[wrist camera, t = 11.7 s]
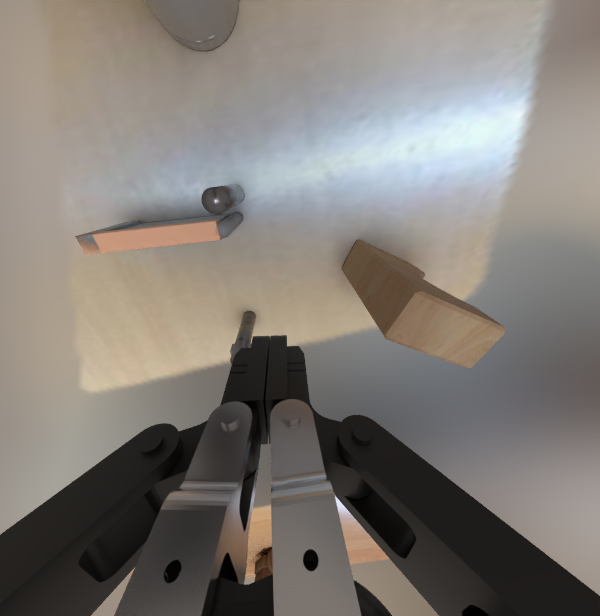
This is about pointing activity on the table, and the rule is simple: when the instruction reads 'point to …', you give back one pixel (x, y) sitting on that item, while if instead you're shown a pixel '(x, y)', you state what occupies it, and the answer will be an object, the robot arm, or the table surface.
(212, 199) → the gate frame
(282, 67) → the table surface
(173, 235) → the gate
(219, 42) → the robot arm
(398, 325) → the decorative block
